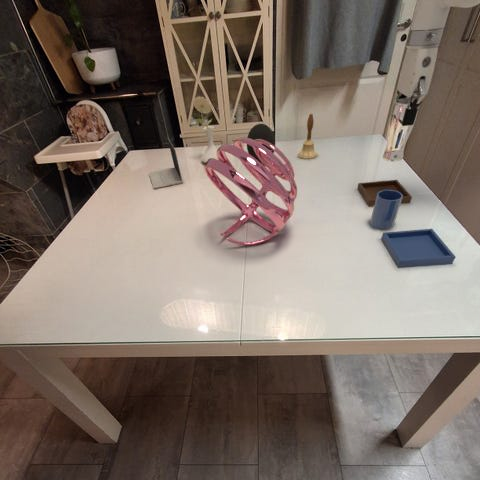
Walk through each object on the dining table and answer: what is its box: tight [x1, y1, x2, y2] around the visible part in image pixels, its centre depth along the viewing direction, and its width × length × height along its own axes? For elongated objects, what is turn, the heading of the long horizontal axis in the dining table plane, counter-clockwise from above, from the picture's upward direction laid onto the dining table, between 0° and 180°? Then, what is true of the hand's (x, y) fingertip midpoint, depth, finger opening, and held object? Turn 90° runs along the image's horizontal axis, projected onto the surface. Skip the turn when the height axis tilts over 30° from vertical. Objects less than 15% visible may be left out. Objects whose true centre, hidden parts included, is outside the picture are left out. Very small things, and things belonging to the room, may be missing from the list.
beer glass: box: [381, 98, 419, 162], centre depth 89 cm, size 7×7×15 cm
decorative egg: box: [246, 123, 276, 164], centre depth 129 cm, size 12×12×15 cm
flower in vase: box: [192, 95, 218, 164], centre depth 132 cm, size 13×11×25 cm
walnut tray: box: [357, 179, 413, 207], centre depth 103 cm, size 14×14×2 cm
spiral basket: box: [203, 137, 298, 246], centre depth 85 cm, size 28×28×27 cm
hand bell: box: [297, 113, 318, 160], centre depth 129 cm, size 8×8×16 cm
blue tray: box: [381, 228, 456, 268], centre depth 81 cm, size 14×14×2 cm
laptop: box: [148, 137, 183, 189], centre depth 127 cm, size 18×12×13 cm
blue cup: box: [369, 190, 403, 230], centre depth 89 cm, size 7×7×9 cm
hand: (402, 120), depth 87 cm, fingers closed on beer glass, 7 cm apart
